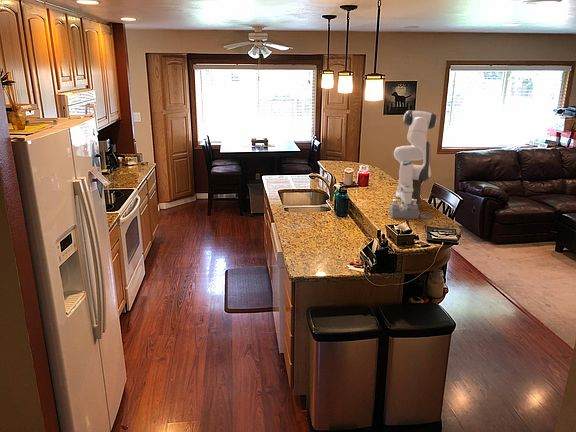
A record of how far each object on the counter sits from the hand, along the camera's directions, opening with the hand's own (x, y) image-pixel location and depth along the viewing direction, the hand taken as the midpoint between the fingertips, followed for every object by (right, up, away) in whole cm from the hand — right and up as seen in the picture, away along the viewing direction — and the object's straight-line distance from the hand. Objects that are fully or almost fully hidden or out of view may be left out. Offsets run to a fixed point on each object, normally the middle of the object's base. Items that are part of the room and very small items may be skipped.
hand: (404, 207), depth 299 cm
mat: (+13, -7, -1) cm, 15 cm away
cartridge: (0, -6, +2) cm, 6 cm away
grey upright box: (+12, +1, +24) cm, 26 cm away
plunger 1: (-6, -1, 0) cm, 6 cm away
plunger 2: (+6, -1, 0) cm, 6 cm away
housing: (0, -6, +2) cm, 6 cm away
